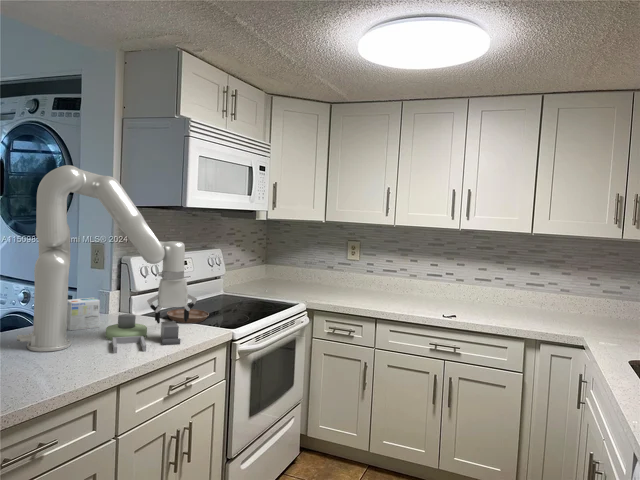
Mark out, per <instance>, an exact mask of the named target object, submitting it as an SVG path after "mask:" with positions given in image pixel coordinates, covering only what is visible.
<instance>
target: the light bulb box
mask: <svg viewBox="0 0 640 480" xmlns="http://www.w3.org/2000/svg"><path fill="white" fill-rule="evenodd" d="M100 300H101V299H98V298H96V297H88V298H87V297H85V298H73V299H71V298H70V299H68V306H67V331H70V332H71V330H72V331H79V330H87V329H95V328H99V327H100V306H101V305H100V304H101V301H100Z"/></svg>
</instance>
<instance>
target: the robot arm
mask: <svg viewBox="0 0 640 480" xmlns="http://www.w3.org/2000/svg"><path fill="white" fill-rule="evenodd" d="M70 193H73V194H78V195H82V196H86V197H89V198H93V199H98V201H100V203H101V205H102V206H103V207H104V209H105V211H106V212H107V213H108V214H109V216H110V217H111V218H112V220H113V221H114V223H115V224H116V225H117V227H118V228H119V229H120V230H121V231H122V232H123V233H124V234H125V236H126V237H127V238H128V239H129V240H130V242H131V243H132V245H133V246H134V248H135V249H136V250H137V252H138V253H139V254H140V256H141V258H142V259H143V260H144V261H145V262H146V263H148V264H151V265H156V264H159V263H160V262H161V263H162V269H161V272H158V275H157V276H158V277H161V278H160V280H159V284H158V292H157V295H154V296H152V297H151V298H149V299H147V304H148V306H149V307H150V309H151V310H153V311H154V312H155V313H154V321H155V322H156V324H158V325H159V324H161V312H160V311H161V309H162V308H163V309H164V308H165V309H166V308H167V309H169V308H171V309H172V308H183V309H185V310H184V321H185V322H187V319H189V311H190V309H193V307H195V304H196V302H197V300H198V298H197V297H196V296H193V295H191V294H188V291H189V290H188V281H187V279H186V278H185V260H186V259H185V255H186V254H185V253H186V252H185V251H186V250H185V249H186V246H185V243H184V242H182V241H175V240H174V241H173V240H172V241H162V240H160V241H159V239H158V237H157V236H156V235H155V233H154V232H153V230H152V229H151V228H150V227H149V225H148V223H147V221H146V220H145V217H144V216H143V215H142V213H141V212H140V211H139V209H138V208H137V206H136V205H135V204H134V202H133V201H132V199H131V198H130V196H129V195H128V194H127V191H126V190H125V188H123V186H122V185H121V183H120V182H119V181H118V179H116V178H115V177H113V176H110V175H102V174H98V173H94V172H90V171H88V170H87V171H86V170H83V169H81V168H78V167H77V166H74V165H70V164H69V165H67V164H66V165H65V164H64V165H62V166H58V167H56V168H54V169H52V170H50V171H49V172H48V173H46V174H45V175H44V176H43V177H42V179H41V181H40V182H39V185H38V187H37V192H36V225H35V226H36V227H35V236H36V238H37V240H38V241H37V242H38V258H37V260H36V261H35V264H34V273H33V274H34V277H33V278H34V299H33V301H34V303H33V304H34V305H33V306H34V307H33V328H32V330H33V331H32V332H31V333H28V334H17V336H16V342H20V343H26V342H27V344H26V348H27V349H28V350H30V351H31V352H32V351H33V352H39V353H40V352H42V353H43V352H45V353H47V352H57V351H60V350H65V349H68V348H69V347H71V346H72V340H71V339H69V338H67V331H68V329H67V306H68V300H69V274H70V266H71V229H70V226H69V224H68V217H67V213H68V212H67V209H68V207H67V206H68V205H67V203H68V196H69V195H70ZM188 300H191V302H190V303H189V304H188ZM155 301H157V305H156V306H155V305H154V304H153V303H154V302H155Z"/></svg>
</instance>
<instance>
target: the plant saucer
mask: <svg viewBox="0 0 640 480" xmlns="http://www.w3.org/2000/svg"><path fill="white" fill-rule="evenodd" d="M184 310H185V308H178V309H171V310H168V311H167V312H166V315H167V317H168V318H169V319H170V320H171V321H175V322H176V323H179V324H181V323H182V324H196V323H201V322H202V323H203V322H204V321H205V320H206V319H207V318H208V317H209V315H210V313H209V312H208V311H206V310H201V309H195V308H191V309H190V311H189V319H187V322H185V321H184Z"/></svg>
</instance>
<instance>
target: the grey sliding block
mask: <svg viewBox="0 0 640 480" xmlns="http://www.w3.org/2000/svg"><path fill="white" fill-rule="evenodd" d="M179 328H180V327H179V325H178V322H175V321H172V320H171V321H160V339H161V345H162V346H177V345H178V346H179V345H181V338H179V330H180V329H179Z"/></svg>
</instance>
